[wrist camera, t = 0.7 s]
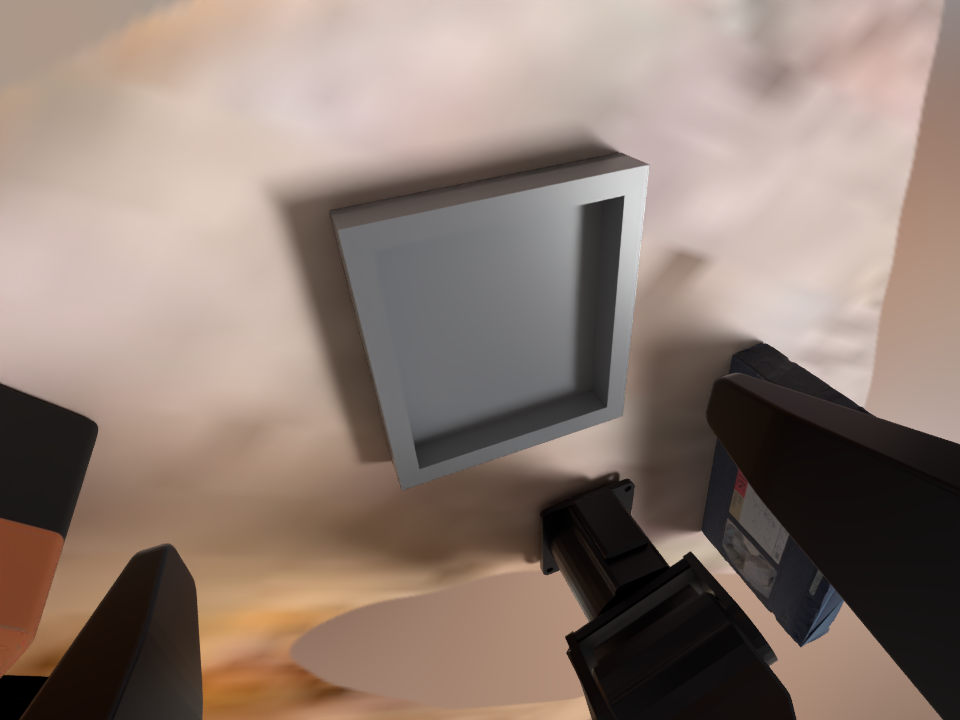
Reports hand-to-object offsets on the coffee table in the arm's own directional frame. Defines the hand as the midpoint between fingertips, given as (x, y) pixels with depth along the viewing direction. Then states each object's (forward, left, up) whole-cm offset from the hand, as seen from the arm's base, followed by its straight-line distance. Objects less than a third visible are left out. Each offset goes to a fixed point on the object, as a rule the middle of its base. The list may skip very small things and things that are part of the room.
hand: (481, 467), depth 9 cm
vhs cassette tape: (-22, -22, -14) cm, 34 cm away
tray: (-7, -5, -14) cm, 16 cm away
